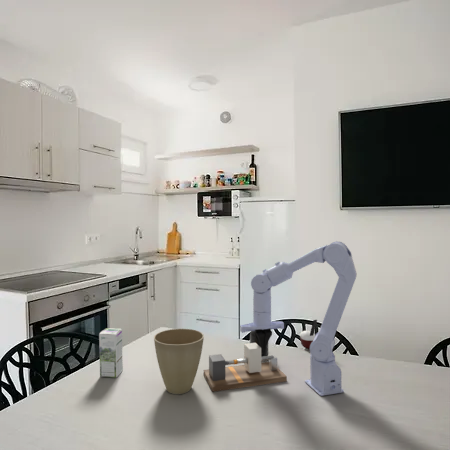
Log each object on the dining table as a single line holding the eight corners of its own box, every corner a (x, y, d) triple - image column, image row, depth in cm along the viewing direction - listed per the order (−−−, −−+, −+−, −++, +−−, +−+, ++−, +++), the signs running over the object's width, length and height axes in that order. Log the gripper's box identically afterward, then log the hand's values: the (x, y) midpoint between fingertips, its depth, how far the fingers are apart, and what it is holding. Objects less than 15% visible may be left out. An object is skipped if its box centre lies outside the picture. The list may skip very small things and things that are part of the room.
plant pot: (196, 403, 99) (196, 346, 99) (146, 398, 102) (145, 342, 102) (209, 379, 114) (209, 329, 113) (165, 375, 117) (164, 326, 116)
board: (286, 381, 112) (286, 376, 112) (212, 391, 105) (212, 386, 105) (271, 365, 124) (271, 361, 124) (203, 374, 117) (203, 369, 117)
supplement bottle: (269, 360, 128) (269, 327, 128) (250, 360, 129) (250, 326, 128) (267, 352, 135) (267, 321, 135) (249, 352, 135) (249, 321, 135)
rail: (277, 370, 117) (277, 355, 116) (217, 378, 111) (217, 363, 111) (274, 367, 118) (274, 353, 118) (216, 375, 113) (216, 360, 113)
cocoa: (299, 344, 145) (297, 314, 146) (314, 343, 145) (313, 314, 145) (303, 351, 136) (301, 320, 136) (319, 351, 136) (318, 319, 136)
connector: (225, 379, 110) (225, 360, 110) (212, 381, 109) (212, 361, 109) (221, 372, 115) (221, 354, 115) (209, 374, 114) (208, 355, 114)
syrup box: (123, 370, 120) (122, 327, 120) (116, 378, 114) (115, 333, 114) (107, 369, 121) (106, 327, 120) (99, 377, 115) (98, 333, 115)
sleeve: (261, 371, 113) (261, 348, 113) (249, 373, 112) (249, 349, 112) (255, 365, 118) (255, 342, 118) (244, 366, 117) (244, 343, 117)
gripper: (277, 305, 122) (277, 345, 122) (237, 309, 118) (237, 349, 118) (286, 311, 115) (286, 353, 115) (244, 314, 111) (244, 358, 111)
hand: (262, 352), depth 116 cm, fingers closed
